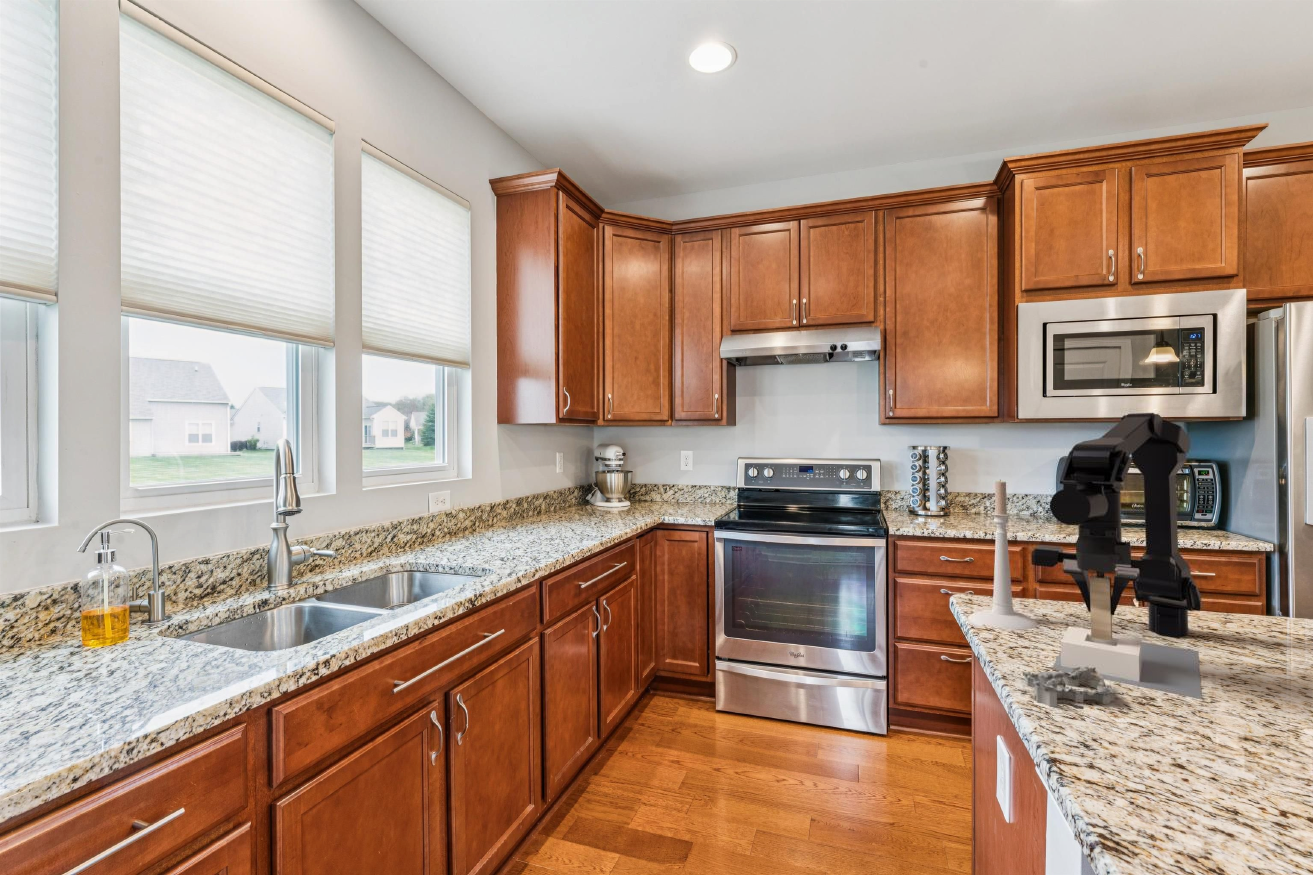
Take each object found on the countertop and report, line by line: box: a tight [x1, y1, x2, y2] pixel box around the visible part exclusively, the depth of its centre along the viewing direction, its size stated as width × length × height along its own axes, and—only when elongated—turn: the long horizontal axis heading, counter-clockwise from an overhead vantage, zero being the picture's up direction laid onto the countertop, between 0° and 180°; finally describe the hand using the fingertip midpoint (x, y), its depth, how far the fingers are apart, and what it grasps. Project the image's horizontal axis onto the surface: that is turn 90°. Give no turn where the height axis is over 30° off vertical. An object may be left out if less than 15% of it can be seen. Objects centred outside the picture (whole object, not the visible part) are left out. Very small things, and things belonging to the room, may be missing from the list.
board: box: [1051, 641, 1203, 700], centre depth 99 cm, size 24×18×1 cm
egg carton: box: [1021, 667, 1120, 710], centre depth 87 cm, size 11×8×4 cm
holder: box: [1060, 626, 1143, 682], centre depth 97 cm, size 10×10×4 cm
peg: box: [1089, 571, 1113, 641], centre depth 97 cm, size 3×3×11 cm
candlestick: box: [967, 480, 1039, 631], centre depth 121 cm, size 13×13×30 cm
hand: (1101, 613), depth 97 cm, fingers closed on peg, 3 cm apart
